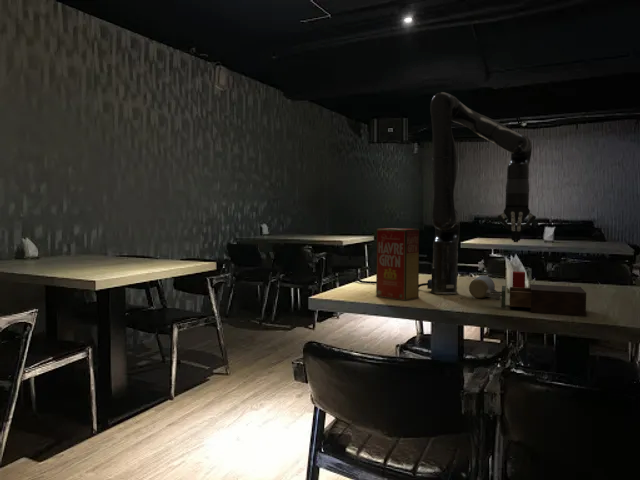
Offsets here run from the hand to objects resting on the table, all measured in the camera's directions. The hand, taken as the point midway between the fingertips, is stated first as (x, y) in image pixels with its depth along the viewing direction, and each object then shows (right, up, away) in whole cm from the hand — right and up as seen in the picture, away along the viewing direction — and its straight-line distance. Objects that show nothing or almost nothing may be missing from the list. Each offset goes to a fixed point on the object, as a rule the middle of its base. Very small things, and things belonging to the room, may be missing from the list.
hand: (515, 242), depth 172 cm
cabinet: (+6, -22, -16) cm, 28 cm away
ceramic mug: (-8, -21, +7) cm, 23 cm away
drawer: (-4, -20, -12) cm, 24 cm away
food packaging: (-40, -20, +7) cm, 46 cm away
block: (+2, -21, +2) cm, 21 cm away
